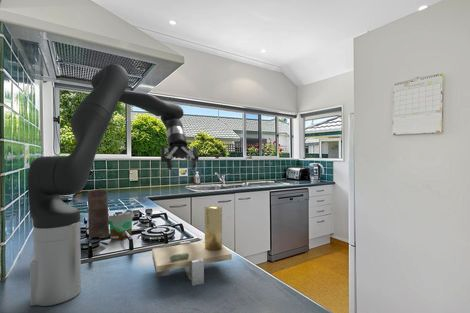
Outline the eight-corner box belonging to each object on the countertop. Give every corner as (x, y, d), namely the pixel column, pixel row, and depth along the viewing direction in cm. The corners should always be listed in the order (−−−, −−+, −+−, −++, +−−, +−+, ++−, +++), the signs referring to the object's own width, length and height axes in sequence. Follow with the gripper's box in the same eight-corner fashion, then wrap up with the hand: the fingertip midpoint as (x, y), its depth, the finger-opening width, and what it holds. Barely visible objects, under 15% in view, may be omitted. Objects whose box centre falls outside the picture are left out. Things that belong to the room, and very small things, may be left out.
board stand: (192, 285, 65) (192, 262, 65) (180, 261, 80) (180, 242, 80) (203, 283, 66) (203, 260, 66) (189, 259, 82) (189, 240, 82)
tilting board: (156, 277, 64) (156, 260, 64) (152, 257, 76) (152, 244, 76) (231, 263, 71) (231, 248, 71) (217, 248, 83) (216, 235, 83)
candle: (90, 241, 100) (89, 190, 100) (86, 237, 105) (85, 188, 105) (111, 237, 105) (110, 188, 105) (106, 233, 111) (105, 187, 110)
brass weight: (207, 251, 73) (207, 209, 73) (202, 246, 78) (202, 206, 78) (224, 249, 75) (224, 208, 75) (218, 243, 80) (218, 205, 80)
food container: (122, 242, 99) (122, 216, 99) (108, 241, 100) (108, 216, 100) (140, 233, 111) (140, 210, 111) (127, 232, 112) (127, 209, 112)
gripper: (192, 145, 111) (199, 174, 100) (158, 145, 105) (161, 175, 95) (195, 132, 106) (202, 160, 95) (159, 131, 100) (163, 161, 90)
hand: (182, 168), depth 95 cm, fingers open, 8 cm apart
